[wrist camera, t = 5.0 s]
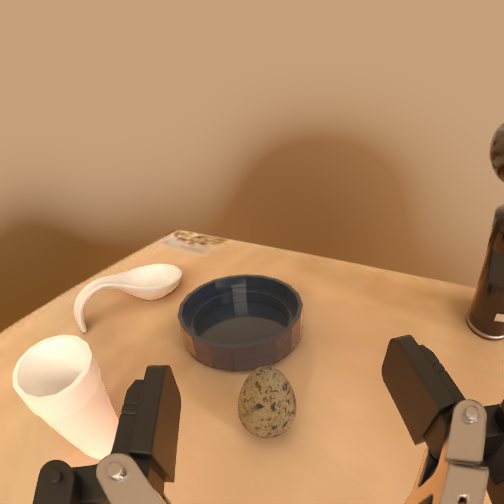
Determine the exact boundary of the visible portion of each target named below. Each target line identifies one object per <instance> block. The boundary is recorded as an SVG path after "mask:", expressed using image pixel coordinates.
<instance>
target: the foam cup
mask: <svg viewBox="0 0 504 504" xmlns="http://www.w3.org/2000/svg"><path fill="white" fill-rule="evenodd" d="M13 387H14V389H15V390H16V391H17V393H18V394H19V396H20V397H21V398H22V399H23V401H24V402H25V403H26V405H27V406H28V407H29V408H30V409H31V410H32V412H33V413H34V414H35V415H38V416H40V417H41V418H42V419H43V420H44V421H45V422H46V423H48V424H49V425H50V426H51V427H52V428H53V429H55V430H56V431H57V432H58V433H59V434H61V435H62V436H63V437H64V438H65V439H67V440H68V441H69V442H71V443H72V444H73V445H74V446H76V447H77V448H78V449H80V450H81V451H82V452H84V453H85V454H87V455H88V456H90V457H91V458H95V459H100V460H101V459H103V458H104V457H105V456H107V455H109V454H110V453H111V451H112V447H113V443H114V439H115V435H116V431H117V427H118V423H119V420H118V418H117V415H116V413H115V411H114V408H113V406H112V404H111V401H110V399H109V397H108V394H107V392H106V389H105V387H104V384H103V381H102V379H101V371H100V369H99V366H98V364H97V362H96V359H95V357H94V355H93V353H92V351H91V349H90V347H89V345H88V343H87V342H85V341H84V340H82V339H80V338H79V337H77V336H70V335H59V336H55V337H51V338H47V339H44V340H42V341H41V342H39V343H37V344H36V345H34V346H32V347H30V348H29V349H28V350H27V351H26V353H25V354H24V355H23V356H22V357H21V358H20V359H19V360H18V362H17V365H16V367H15V369H14V371H13Z"/></svg>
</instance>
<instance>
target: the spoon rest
mask: <svg viewBox="0 0 504 504" xmlns="http://www.w3.org/2000/svg"><path fill="white" fill-rule="evenodd" d="M181 278H182V271H181V269H180V268H178V267H176V266H174V265H170V264H151V265H146V266H142V267H138V268H135V269H132V270H128V271H125V272H121V273H117V274H112V275H108V276H105V277H101V278H99V279H96V280H94V281H92V282H91V283H89V284H88V285H87V286H85V287H84V288H83V289H82V291H81V292H80V293H79V295H78V296H77V298H76V301H75V304H74V317H75V320H76V323H77V325H78V326H79V328H80V329H81V331H82V332H83V333H85V332H86V330H87V328H86V324H85V321H84V315H83V313H84V307H85V305H86V303H87V301H88V300H89V299H90V297H91V296H93V295H94V294H95V293H96V292H98V291H100V290H102V289H106V288H114V289H118V290H121V291H124V292H126V293H128V294H131V295H133V296H135V297H138V298H141V299H144V300H157V299H160V298H163V297H164V296H166V295H167V294H169V293H170V292H172V291H173V290H174V289H175V288H176V287H177V285H178V284H179V282H180V280H181Z"/></svg>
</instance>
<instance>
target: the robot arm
mask: <svg viewBox="0 0 504 504" xmlns="http://www.w3.org/2000/svg"><path fill="white" fill-rule="evenodd" d="M489 155H490V162H491V165H492V168H493V170H494V172H495V174H496V175H497V177H498V178H499V179H500V180H501V181H503V182H504V123H502V124H501V125H500V126H499V127H498V128H497V129H496V131H495V133H494V134H493V137H492V140H491V143H490V150H489ZM467 323H468V325H469V326H470V328H471V329H472V330H473V331H474V332H475V333H476V334H478V335H480V336H481V337H483V338H486V339H489V340H501V339H503V338H504V204H502V205H500V206H498V207H497V208H496V210H495V213H494V218H493V224H492V229H491V233H490V238H489V243H488V247H487V252H486V256H485V260H484V264H483V267H482V271H481V275H480V278H479V282H478V285H477V288H476V292H475V295H474V298H473V301H472V304H471V307H470V309H469V311H468V314H467ZM382 377H383V380H384V383H385V385H386V386H387V388H388V390H389V392H390V394H391V396H392V398H393V400H394V402H395V404H396V406H397V408H398V410H399V412H400V414H401V416H402V419H403V421H404V423H405V425H406V427H407V429H408V431H409V433H410V435H411V437H412V439H413V442H414V444H415V445H417V444H420V443H422V442H426V444H427V447H426V449H425V452H424V456H423V459H422V463H421V466H420V469H419V472H418V476H417V479H416V482H415V485H414V487H413V490H412V492H411V494H410V495H409V497H408V498H407V500H406V501H405V503H404V504H483V501H484V497H485V492H486V489H487V492H488V494H489V497H490V500H491V502H492V504H504V400H503V401H502V403H501V404H497V405H491V406H484V407H483V406H482V405H481V404H480V403H479V402H477V401H475V400H470V399H467V400H466V399H465V398H464V396H463V395H462V393H461V392H460V390H459V389H458V387H457V386H456V384H455V383H454V382H453V380H452V379H451V377H450V376H449V374H448V373H447V371H445V369H444V367H443V366H442V364H441V363H439V360H438V359H437V357H436V356H435V354H434V353H433V352H432V351H431V350H429V349H428V348H426V347H425V346H423V345H418V344H417V342H416V341H415V340H414V338H413V337H412V336H411V335H405V336H401V337H397V338H393V339H391V340H390V342H389V345H388V348H387V352H386V355H385V359H384V362H383V365H382ZM180 411H181V397H180V392H179V389H178V387H177V384H176V381H175V379H174V376H173V373H172V370H171V368H170V366H169V365H152V366H148V367H147V369H146V373H145V377H144V380H135V381H134V382H133V384H132V385H131V386H130V387H129V389H128V390H127V393H126V397H125V400H124V405H123V408H122V411H121V412H122V414H121V415H120V419H119V423H118V427H117V431H116V435H115V439H114V443H113V447H112V451H111V453H110V454H109V455H107V456H105V457H104V458H103V459H101V461H100V462H99V463H98V464H96V465H91V466H83V467H73V468H71V467H70V466H69V465H68V464H67V463H65V462H64V461H61V460H52V461H49V462H47V463H46V464H45V465H44V466H43V467H42V468H41V470H40V473H39V478H38V482H37V486H36V491H35V495H34V500H33V504H172V502H171V501H170V500H169V499H168V497H167V496H166V495H165V493H164V482H174V477H175V464H176V452H177V441H178V430H179V420H180Z"/></svg>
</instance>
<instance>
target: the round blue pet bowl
mask: <svg viewBox="0 0 504 504" xmlns="http://www.w3.org/2000/svg"><path fill="white" fill-rule="evenodd" d="M302 314H303V304H302V301H301V298H300V296H299V294H298V293H297V292H296V291H295V290H294V289H293V288H292V287H291V286H290V285H288V284H286V283H284V282H282V281H280V280H278V279H275V278H270V277H266V276H261V275H236V276H228V277H224V278H220V279H216V280H212V281H210V282H208V283H206V284H203V285H201V286H199V287H198V288H196V289H195V290H194V291H192V292H191V293H189V294H188V295H187V296H186V298H185V299H184V300H183V302H182V303H181V304H180V308H179V313H178V319H179V323H180V327H181V330H182V334H183V338H184V341H185V344H186V347H187V349H188V351H189V352H190V353H191V354H192V355H193V356H194V357H195V358H196V359H197V360H198V361H200V362H202V363H204V364H206V365H208V366H211V367H213V368H217V369H223V370H229V371H244V370H255V369H257V368H259V367H262V366H268V365H270V364H273V363H276V362H278V361H279V360H281V359H282V358H283V357H285V356H286V355H288V354H289V353H290V352H291V351H292V350H293V349H294V347H295V346H296V344H297V343H298V341H299V340H300V336H301V331H302Z"/></svg>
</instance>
